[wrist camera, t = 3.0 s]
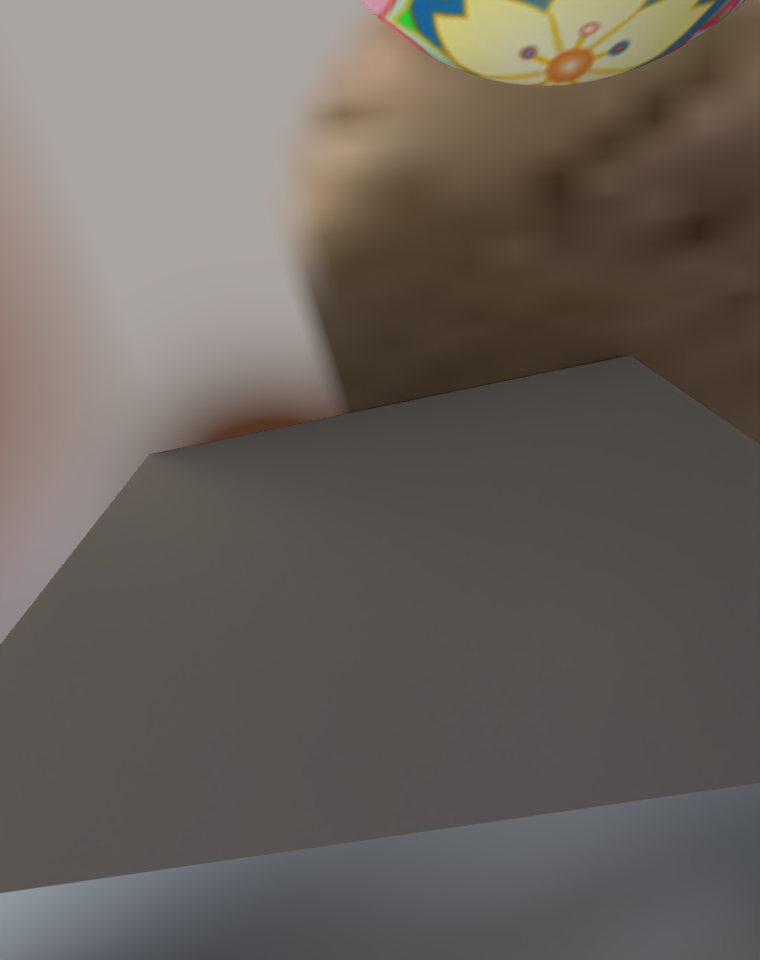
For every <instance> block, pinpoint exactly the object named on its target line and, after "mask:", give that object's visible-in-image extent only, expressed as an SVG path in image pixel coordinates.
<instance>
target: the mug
mask: <svg viewBox="0 0 760 960" xmlns="http://www.w3.org/2000/svg"><path fill="white" fill-rule="evenodd" d="M361 1H362V2H363V3H364V4H365V5H366V6H367V7H368V8H369V9H370V10H371V11H372V12H373V13H374V14H375V15H376V16H377V17H378V18H379V19H380V20H381V21H382V22H383V23H385V24H386V25H387V26H388V27H390V28H391V29H392V30H393V31H394V32H396V33H397V34H398V35H399V36H401V37H402V38H403V39H404V40H406V41H408V42H409V43H411V44H412V45H414V46H415V47H417V48H418V49H420V50H422V51H423V52H425V53H426V54H428V55H429V56H431V57H434V58H436V59H438V60H440V61H442V62H444V63H446V64H448V65H450V66H452V67H454V68H456V69H459V70H462V71H465V72H468V73H470V74H473V75H476V76H479V77H482V78H487V79H491V80H496V81H500V82H505V83H510V84H520V85H531V86H558V85H570V84H577V83H584V82H591V81H595V80H599V79H603V78H607V77H611V76H615V75H619V74H621V73H624V72H627V71H630V70H632V69H635V68H638V67H640V66H643V65H646V64H648V63H650V62H652V61H654V60H656V59H658V58H660V57H663V56H665V55H667V54H669V53H671V52H673V51H675V50H677V49H678V48H680V47H681V46H683V45H685V44H686V43H688V42H690V41H691V40H693V39H695V38H696V37H698V36H699V35H701V34H703V33H704V32H706V31H707V30H708V29H710V28H711V27H712V26H714V25H715V24H716V23H718V22H719V21H721V20H722V19H723V18H725V17H726V16H727V15H729V14H730V13H731V12H733V11H734V10H735V9H736V8H737V7H738V6H739V5H741V4H742V3H743V2H744V1H745V0H361Z"/></svg>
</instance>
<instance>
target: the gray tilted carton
mask: <svg viewBox="0 0 760 960" xmlns="http://www.w3.org/2000/svg"><path fill="white" fill-rule="evenodd" d="M0 960H760V444H759V443H758V442H756V441H755V440H753V439H752V438H750V437H749V436H748V435H746V434H745V433H743V432H742V431H740V430H739V429H737V428H736V427H734V426H733V425H731V424H730V423H728V422H727V421H726V420H724V419H723V418H721V417H720V416H718V415H717V414H715V413H714V412H712V411H711V410H709V409H708V408H707V407H705V406H704V405H702V404H701V403H699V402H698V401H696V400H695V399H693V398H692V397H690V396H689V395H687V394H686V393H685V392H683V391H682V390H680V389H679V388H677V387H676V386H674V385H673V384H671V383H670V382H668V381H667V380H665V379H664V378H663V377H661V376H660V375H658V374H657V373H655V372H654V371H652V370H651V369H649V368H648V367H646V366H645V365H643V364H642V363H641V362H639V361H638V360H636V359H635V358H633V357H632V356H625V357H620V358H615V359H610V360H605V361H600V362H596V363H591V364H586V365H581V366H576V367H571V368H566V369H562V370H557V371H552V372H547V373H542V374H537V375H532V376H528V377H523V378H518V379H513V380H508V381H503V382H498V383H494V384H489V385H484V386H479V387H474V388H469V389H464V390H460V391H455V392H450V393H445V394H440V395H435V396H431V397H426V398H421V399H416V400H411V401H406V402H401V403H397V404H392V405H387V406H382V407H377V408H372V409H367V410H363V411H358V412H353V413H348V414H343V415H338V416H333V417H329V418H324V419H319V420H314V421H309V422H305V423H299V424H295V425H290V426H285V427H280V428H275V429H270V430H266V431H261V432H256V433H251V434H246V435H241V436H237V437H232V438H227V439H222V440H217V441H212V442H207V443H202V444H198V445H193V446H188V447H183V448H178V449H174V450H169V451H164V452H159V453H154V454H149V456H148V457H147V458H146V459H145V461H144V462H143V463H142V464H141V466H140V467H139V468H138V470H137V471H136V472H135V473H134V475H133V476H132V477H131V478H130V480H129V481H128V482H127V484H126V485H125V486H124V487H123V489H122V490H121V491H120V493H119V494H118V495H117V496H116V498H115V499H114V500H113V501H112V503H111V504H110V505H109V507H108V508H107V509H106V510H105V512H104V513H103V514H102V516H101V517H100V518H99V519H98V521H97V522H96V523H95V525H94V526H93V527H92V528H91V530H90V531H89V532H88V533H87V535H86V536H85V537H84V539H83V540H82V541H81V542H80V544H79V545H78V546H77V548H76V549H75V550H74V551H73V553H72V554H71V555H70V556H69V558H68V559H67V560H66V561H65V563H64V564H63V565H62V567H61V568H60V569H59V570H58V572H57V573H56V574H55V576H54V577H53V578H52V579H51V581H50V582H49V583H48V584H47V586H46V587H45V588H44V590H43V591H42V592H41V593H40V595H39V596H38V597H37V598H36V600H35V601H34V602H33V604H32V605H31V606H30V607H29V609H28V610H27V611H26V612H25V614H24V615H23V616H22V618H21V619H20V620H19V622H18V623H17V624H16V625H15V627H14V628H13V629H12V630H11V632H10V633H9V634H8V635H7V637H6V638H5V639H4V641H3V642H2V643H1V645H0Z"/></svg>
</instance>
